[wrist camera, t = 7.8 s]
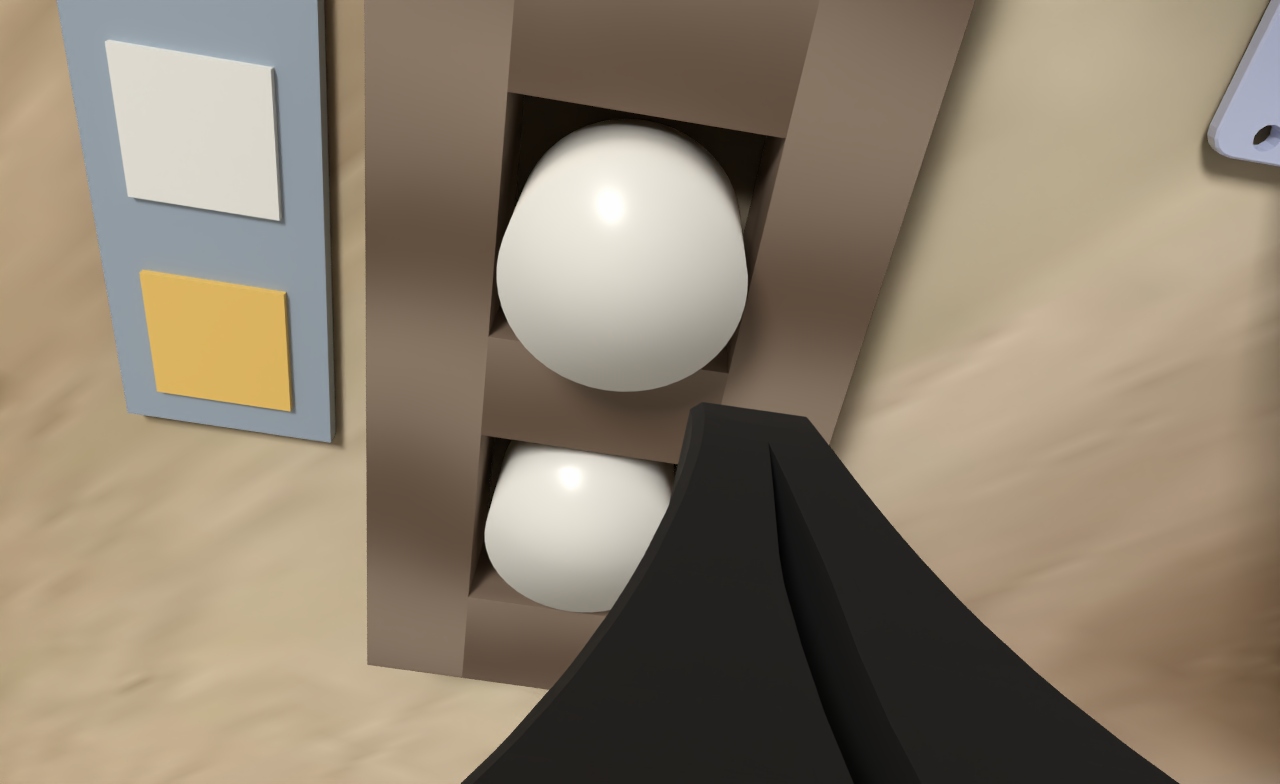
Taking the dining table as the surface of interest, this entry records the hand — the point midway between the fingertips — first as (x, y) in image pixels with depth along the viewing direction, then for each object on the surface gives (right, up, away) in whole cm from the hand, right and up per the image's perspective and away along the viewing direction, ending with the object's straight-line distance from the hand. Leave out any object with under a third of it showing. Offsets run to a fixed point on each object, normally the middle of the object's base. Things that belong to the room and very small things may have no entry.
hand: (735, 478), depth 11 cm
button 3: (-2, -1, +13) cm, 13 cm away
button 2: (-1, +4, +8) cm, 9 cm away
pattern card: (-10, +7, +9) cm, 15 cm away
